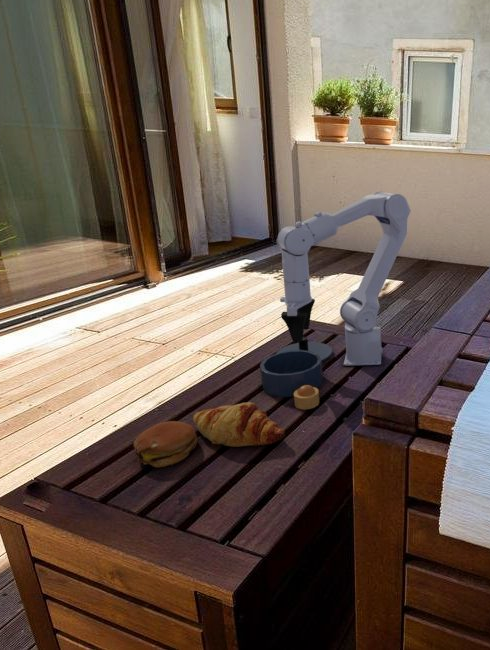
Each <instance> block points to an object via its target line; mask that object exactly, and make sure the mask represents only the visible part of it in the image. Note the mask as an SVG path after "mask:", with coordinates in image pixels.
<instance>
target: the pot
mask: <svg viewBox="0 0 490 650" xmlns="http://www.w3.org/2000/svg"><path fill="white" fill-rule="evenodd" d="M276 353H277V352H276ZM276 353H274V354H271V355H269V356H267V357H266V358H264V359H263V360H262V361H261V363H260V365H259V371H260V379H261V385H262V389H263V391H264V392H265V393H266V394H268V395H271V396H273V397H278V398H291V397H294V392H295V391H296V390H297V389H299V388H300V387H301V386H303V385H310V386H312V387H315V388H317V389H318V388H319V387H320V386H321V385H322V384H323V380H324V373H323V372H324V371H323V361H322V359H321V357H320V356H319V354H316V353H314V352H312V351H305V350H291V351H285V352H280V353H277V354H276Z"/></svg>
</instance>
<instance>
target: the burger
mask: <svg viewBox="0 0 490 650" xmlns="http://www.w3.org/2000/svg"><path fill="white" fill-rule="evenodd" d="M198 442H199V439H198V435H197V432H196V430H195V429H194V427H193V426H192V425H191V424H189V423H187V422H183V421H176V420H170V421H163V422H159V423H156V424H154V425H153V426H151V427H148V428H147V429H145V430H144V431H143V432H141V433H140V434H139V435H138V436H137V437H136V439H135V440H134V442H133V445H132V446H133V448H134V450H135V456H137V457H138V458H137V463H138V462H139V463H142V464H143V465H150V466H151V467H154V468H165V467H170V466H173V465H174V464H177V463H180V462H181V461H183V460H185V459H186V458H187V457H188V456H189V455H190V453H191V452H192V451H193V450H194V449H195V448H196V446H197V444H198Z"/></svg>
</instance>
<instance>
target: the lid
mask: <svg viewBox="0 0 490 650" xmlns="http://www.w3.org/2000/svg"><path fill="white" fill-rule="evenodd" d="M291 350H305V351H312V352H314V353H316V354H319V356H320V357H321V359H322V362H324V361H327V359H329V358H330V357H331V356H332V354H333V349H332V347H331V346H329V345H328V344H326V343H323V342H317V341H309V340H308V337H306V336H303V339H302V341H297V343H296V342H294V343H292V344H291V343H290V344H288V345H285V346H284V347H281V348H280V349H279V350H277V351H276V353H275V354H277V353H280V352H285V351H291Z"/></svg>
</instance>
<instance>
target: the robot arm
mask: <svg viewBox="0 0 490 650" xmlns="http://www.w3.org/2000/svg"><path fill="white" fill-rule="evenodd" d="M411 211H412V210H411V209H410V205H409V203H408V200H407V198H406V197H405V196H404V195H402V194H400V193H390V192H385V191H381V190H380V191H376V192H373V193H370V194H367V195H365V196H364V197H362V198H360V199H358V200H356V201H355V202H353V203H351V204H349V205H347V206H345V207H343V208H341V209H340V210H337V211H335V212H334V213H332V214H331V213H329V212H326V211H323V212H321V211H316V212H314V213H313V214H314V216H312V217H310V218H307V219H306V220H304V221H300V220H299V221H296V222H295V226H291V225H289V226H284V227H283V228H282V229H280V232H278V235H277V238H276V241H275V242H276V244H277V246H278V248H279V249H281V265H282V266H281V267H282V274H283V286H284V287H283V288H284V296H281V297H280V298H279V302H280V303H284V304H285V306H286V311H282V312H281V314H280V316H281V317H280V318H281V319H282V320H283V322H284V323H285V325H286V327H287V329H288V332H289V335H290V339H291V340H292V342H298V341H302V339H303V337H304V330H309V328H310V324H311V323H310V322H311V315H312V311H313V306H314V305H315V302H316V300H315V298H313V297H312V295H311V282H310V279H311V278H310V267H309V257H308V253H309V251H310V249H311V247H313V246H316V245H317V244H320V243H321V242H324V241H325V240H327V239H330V238H332V237H334V236H335V235H337V233H338V230H339V228H340V227H343V226H345V225H348V224H350V223H353V222H355V221H357V220H360V219H362V218H364V217H365V218H366V217H367V216H372V217H375V219H376V220H377V222H378V223H379V225H380V227H381V230H382V232H383V234H382V235H381V238H380V240H379V241H378V244H377V246H376V248H375V250H374V253H373V255H372V258H371V259H370V262H369V264H368V267H367V268H366V270H365V273H364V275H363V277H362V280H361V281H360V284H359V286H358V287H357V288H356V289H355V290H353V291H352V292H351V293H350V294H349V296H348V298H347V299H346V300H345V301H344V302H342V304H341V305H340V310H339V315H340V317H341V319H342V320H343V321H344V336H345V337H344V339H345V340H344V341H345V357H344V361H343V366H345V367H347V366H349V367H350V366H380V365H382V357H383V353H384V352H383V351H384V349H383V347H382V328H381V327H378V326H376V325H377V323H378V313H379V311H380V308H381V306H380V301H379V296H380V294H381V291H382V290H383V287H384V285H385V283H386V281H387V278H388V276H389V274H390V271H391V270H392V268H393V265H394V263H395V261H396V259H397V257H398V255H399V253H400V251H401V248H402V246H403V243H404V241H405V239H406V238H407V234H408V233H407V232H408V218H409V216H410V213H411Z"/></svg>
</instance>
